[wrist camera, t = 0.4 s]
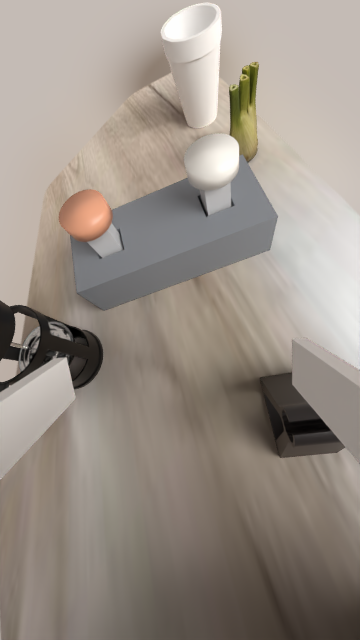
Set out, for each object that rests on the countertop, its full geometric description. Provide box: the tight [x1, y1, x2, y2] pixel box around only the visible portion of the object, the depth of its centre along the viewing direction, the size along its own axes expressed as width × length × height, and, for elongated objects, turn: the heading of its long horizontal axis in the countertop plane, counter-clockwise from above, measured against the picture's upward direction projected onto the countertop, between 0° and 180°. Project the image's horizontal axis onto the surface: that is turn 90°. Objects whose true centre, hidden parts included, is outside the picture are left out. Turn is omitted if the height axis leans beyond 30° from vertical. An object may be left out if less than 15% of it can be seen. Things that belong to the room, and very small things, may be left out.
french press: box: [0, 301, 103, 392], centre depth 25 cm, size 12×9×23 cm
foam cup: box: [161, 3, 222, 128], centre depth 41 cm, size 10×9×13 cm
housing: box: [70, 154, 278, 311], centre depth 35 cm, size 12×28×7 cm, turn 106°
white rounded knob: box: [184, 133, 239, 217], centre depth 29 cm, size 6×6×8 cm
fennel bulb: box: [229, 62, 259, 162], centre depth 36 cm, size 6×5×12 cm
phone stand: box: [260, 373, 345, 458], centre depth 22 cm, size 9×6×12 cm, turn 8°
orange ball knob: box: [59, 190, 124, 258], centre depth 31 cm, size 6×6×8 cm
